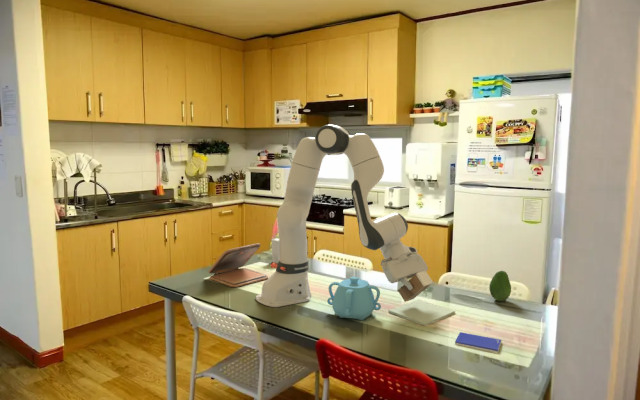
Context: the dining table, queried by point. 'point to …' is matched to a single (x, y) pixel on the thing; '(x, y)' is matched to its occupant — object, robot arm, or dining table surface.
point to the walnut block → (416, 286)
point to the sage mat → (422, 312)
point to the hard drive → (478, 342)
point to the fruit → (500, 286)
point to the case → (236, 267)
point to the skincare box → (275, 250)
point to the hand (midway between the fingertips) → (417, 287)
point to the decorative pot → (353, 298)
